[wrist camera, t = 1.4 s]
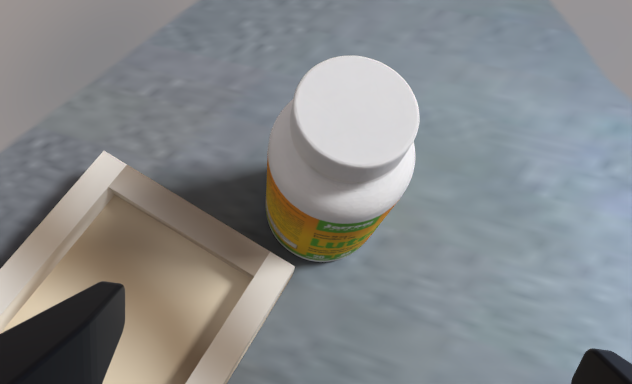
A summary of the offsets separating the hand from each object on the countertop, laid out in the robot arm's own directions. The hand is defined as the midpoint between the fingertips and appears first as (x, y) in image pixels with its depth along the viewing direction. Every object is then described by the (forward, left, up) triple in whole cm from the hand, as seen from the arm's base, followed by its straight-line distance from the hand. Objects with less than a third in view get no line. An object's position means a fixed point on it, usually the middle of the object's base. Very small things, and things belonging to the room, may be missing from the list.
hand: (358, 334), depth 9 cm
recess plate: (-2, +7, -13) cm, 15 cm away
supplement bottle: (+6, +3, -13) cm, 15 cm away
